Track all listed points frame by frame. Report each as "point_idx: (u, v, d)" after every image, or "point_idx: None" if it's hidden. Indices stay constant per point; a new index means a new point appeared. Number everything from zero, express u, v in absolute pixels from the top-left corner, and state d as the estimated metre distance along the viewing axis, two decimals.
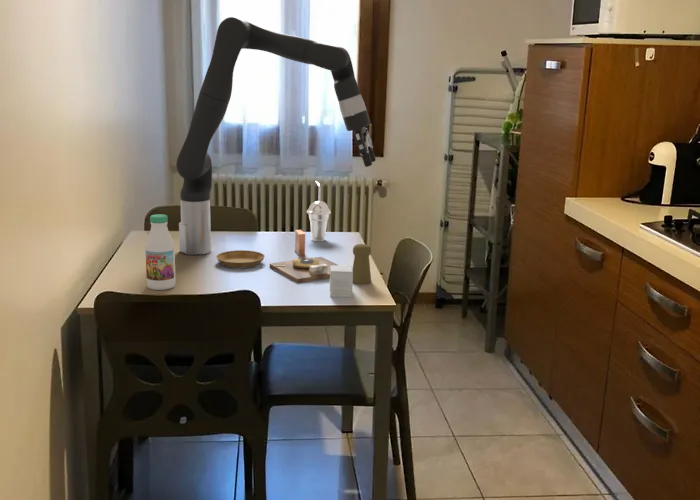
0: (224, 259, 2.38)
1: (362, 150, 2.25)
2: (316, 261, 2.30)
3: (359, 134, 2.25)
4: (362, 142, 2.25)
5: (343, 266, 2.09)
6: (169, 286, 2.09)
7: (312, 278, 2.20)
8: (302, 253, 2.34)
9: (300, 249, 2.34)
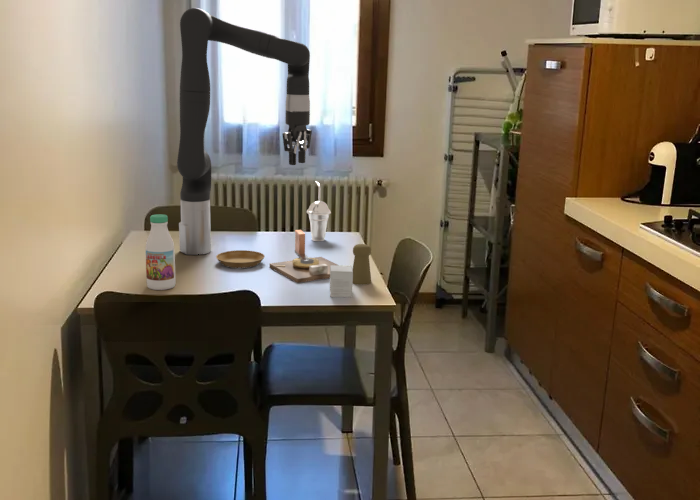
0: (224, 259, 2.38)
1: (288, 149, 2.36)
2: (316, 261, 2.30)
3: (287, 135, 2.33)
4: (288, 143, 2.34)
5: (343, 266, 2.09)
6: (169, 286, 2.09)
7: (312, 278, 2.20)
8: (302, 253, 2.34)
9: (300, 249, 2.34)
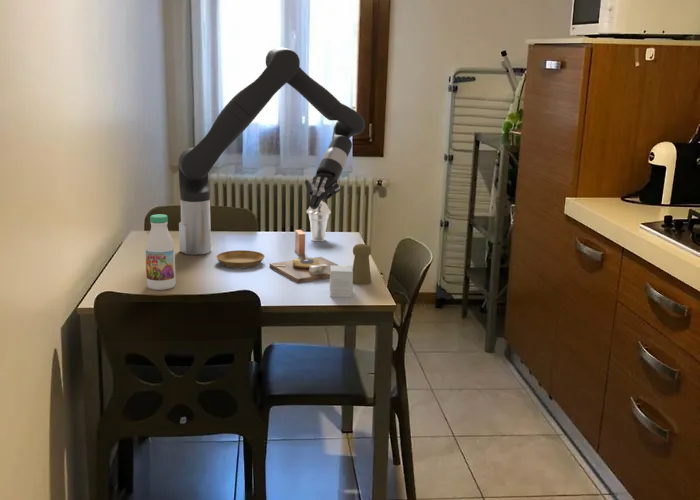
0: (224, 259, 2.38)
1: (327, 195, 2.43)
2: (316, 261, 2.30)
3: (339, 189, 2.43)
4: (333, 194, 2.43)
5: (343, 266, 2.09)
6: (169, 286, 2.09)
7: (312, 278, 2.20)
8: (302, 253, 2.34)
9: (300, 249, 2.34)
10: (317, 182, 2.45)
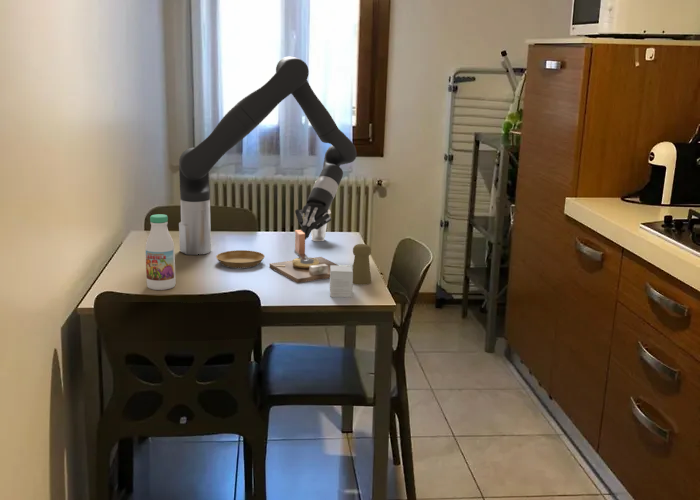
0: (224, 259, 2.38)
1: (317, 225, 2.40)
2: (316, 261, 2.30)
3: (330, 219, 2.41)
4: (323, 224, 2.41)
5: (343, 266, 2.09)
6: (169, 286, 2.09)
7: (312, 278, 2.20)
8: (302, 253, 2.34)
9: (300, 249, 2.34)
10: (307, 212, 2.42)
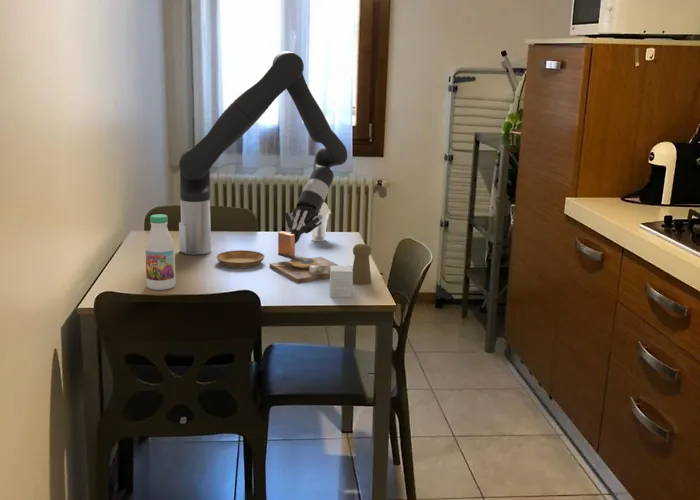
0: (224, 259, 2.38)
1: (307, 229, 2.35)
2: (313, 260, 2.31)
3: (320, 223, 2.36)
4: (313, 228, 2.36)
5: (343, 266, 2.09)
6: (169, 286, 2.09)
7: (312, 278, 2.20)
8: (292, 254, 2.33)
9: (291, 250, 2.32)
10: (297, 215, 2.37)
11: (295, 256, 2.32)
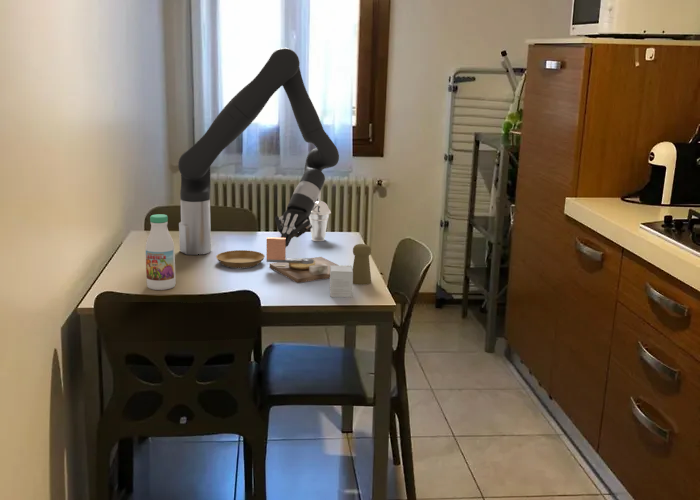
0: (224, 259, 2.38)
1: (297, 233, 2.30)
2: None
3: (310, 226, 2.31)
4: (304, 231, 2.31)
5: (343, 266, 2.09)
6: (169, 286, 2.09)
7: (312, 278, 2.20)
8: (285, 258, 2.29)
9: (285, 254, 2.28)
10: (287, 219, 2.32)
11: (289, 259, 2.28)
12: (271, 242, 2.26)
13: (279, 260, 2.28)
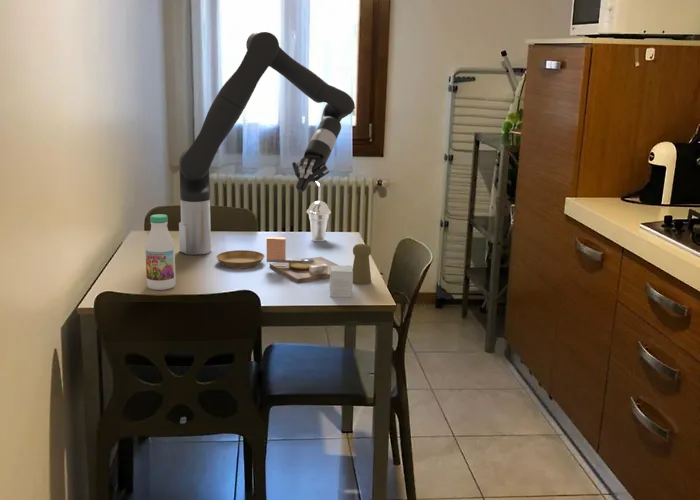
0: (224, 259, 2.38)
1: (314, 178, 2.35)
2: None
3: (327, 171, 2.36)
4: (321, 176, 2.36)
5: (343, 266, 2.09)
6: (169, 286, 2.09)
7: (312, 278, 2.20)
8: (285, 258, 2.29)
9: (285, 254, 2.28)
10: (305, 164, 2.37)
11: (289, 259, 2.28)
12: (271, 242, 2.26)
13: (279, 260, 2.28)
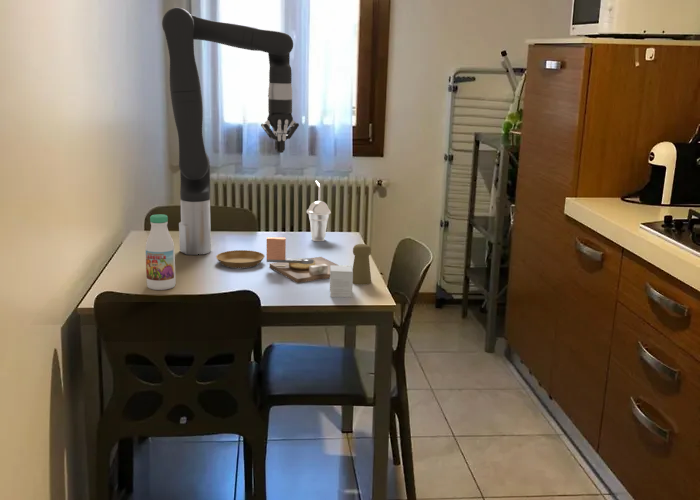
0: (224, 260, 2.38)
1: None
2: None
3: None
4: None
5: (343, 266, 2.09)
6: (169, 286, 2.09)
7: (312, 278, 2.20)
8: (285, 258, 2.29)
9: (285, 254, 2.28)
10: (279, 126, 2.43)
11: (289, 259, 2.28)
12: (271, 242, 2.26)
13: (279, 260, 2.28)
